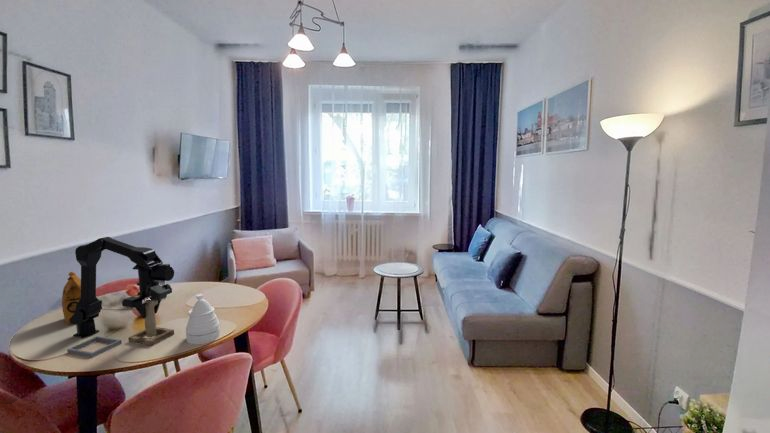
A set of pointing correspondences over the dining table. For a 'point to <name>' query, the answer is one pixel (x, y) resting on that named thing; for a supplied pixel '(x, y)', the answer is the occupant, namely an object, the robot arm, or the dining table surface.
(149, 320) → the handle
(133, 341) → the socket stand
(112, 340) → the frame
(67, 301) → the coffee package
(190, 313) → the honey pot
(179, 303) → the dining table surface
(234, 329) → the dining table surface
